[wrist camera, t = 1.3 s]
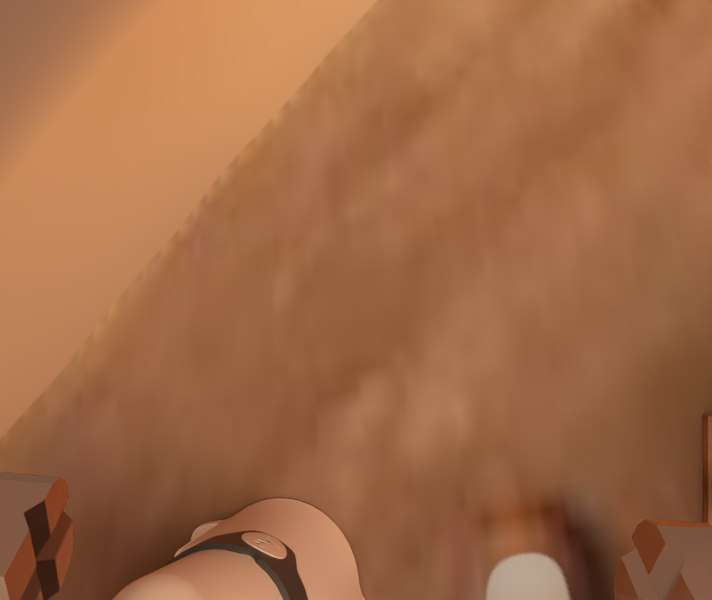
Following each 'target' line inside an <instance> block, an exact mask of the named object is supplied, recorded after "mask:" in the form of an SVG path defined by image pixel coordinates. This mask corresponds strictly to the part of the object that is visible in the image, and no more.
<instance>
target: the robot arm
mask: <svg viewBox="0 0 712 600" xmlns="http://www.w3.org/2000/svg"><path fill="white" fill-rule="evenodd" d="M68 498H69V495H68V490H67V485H66V480H64V479H62V478H58V477H47V476H37V475H27V474H17V473H6V472H0V600H48V599H49V598H51V597H52V596H53V595H55V594H56V593H57V592H58V591H60V589H61V586H62V584H63V581H64V579H65V577H66V574H67V572H68V568H69V564H70V559H71V555H72V551H73V539H74V530H73V522H72V519H71V518H69V517H68V516H67V515H66V514H65V513H64V512H63V509H64V507H65V504H66V502H67V500H68ZM632 539H633V541H634V544H635V546H636V549H634V550H633V551H631V552H630V553H628V554H627V555H625V556H623V557H622V558H621V561H620V563H619V565H618V568H617V570H616V573H615V591H614V593H615V598H616V600H712V524H709V523H697V522H681V521H664V520H648V519H645V520H644V521H642V522H641V523H640V524H638V525H637V527H636V529H635V531H634V533H633V535H632ZM112 600H365V598H364V597H363V595H362V592H361V589H360V584H359V578H358V571H357V566H356V562H355V558H354V555H353V553H352V550H351V548H350V545H349V543H348V542H347V540H346V538H345V536H344V535H343V533H342V532H341V530H340V529H339V528H338V527H337V525H336V524H335V523H334V522H333V521H332V520H331V519H330V518H329V517H328V516H326V515H325V514H324V513H323V512H321V511H320V510H318V509H316V508H315V507H313V506H311V505H309V504H306V503H304V502H301V501H297V500H293V499H285V498H275V499H268V500H263V501H260V502H257V503H254V504H252V505H250V506H248V507H246V508H244V509H243V510H241V511H240V512H238V513H237V514H235V515H234V516H232V517H230V518H228V519H226V520H217V521H211V522H207V523H204V524H202V525H200V526H199V527H197V528H196V529H195V530H194V532H193V534H192V536H191V540H190V542H189V543H188V544H186V545H185V546H183V547H182V548H180V549H179V550H178V551H177V552H176V554H175V556H174V558H173V559H172V560H171V561H170V562H169V563H168V564H167V565H166V566H165V567H162V568H160V569H158V570H156V571H154V572H152V573H150V574H148V575H145V576H143V577H141V578H139V579H137V580H135V581H133V582H132V583H130V584H129V585H127V586H126V587H125V588H123V589H122V590H121V591H120V592H119V593H118V594H117V595H116V596H115V597H114V598H113V599H112Z"/></svg>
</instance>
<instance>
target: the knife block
mask: <svg viewBox="0 0 712 600" xmlns="http://www.w3.org/2000/svg"><path fill="white" fill-rule="evenodd" d="M703 523H709V524H712V416H703Z"/></svg>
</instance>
